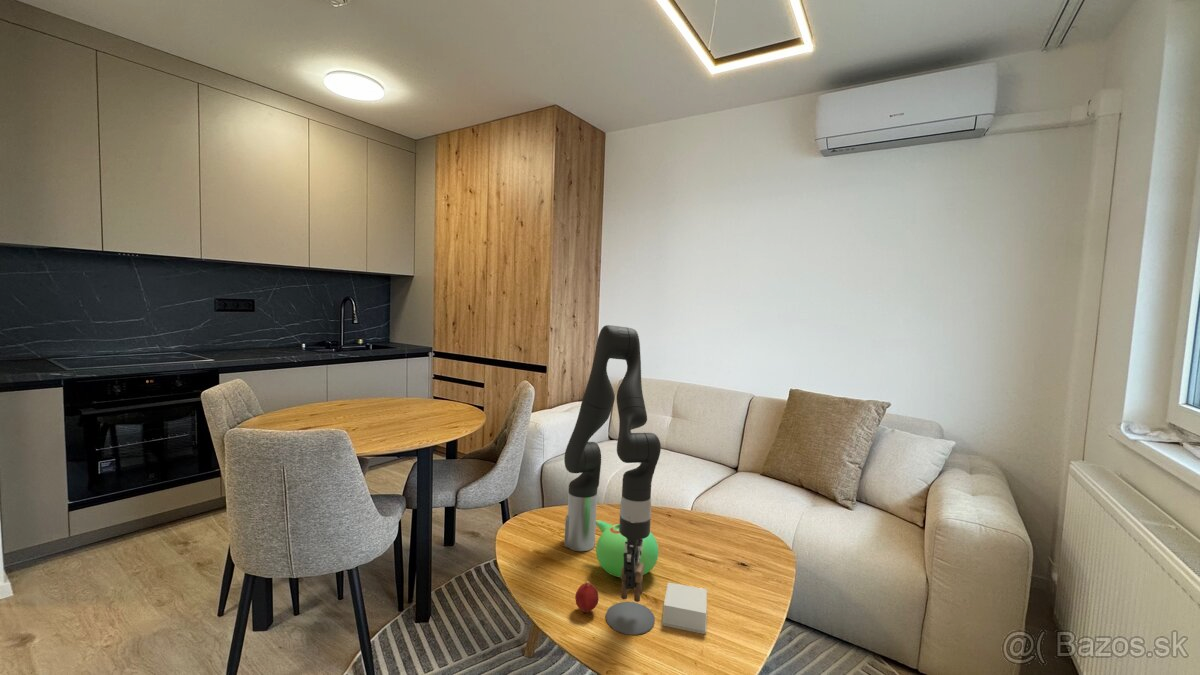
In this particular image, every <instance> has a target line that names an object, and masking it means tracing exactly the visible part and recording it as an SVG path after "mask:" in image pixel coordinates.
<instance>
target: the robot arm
mask: <svg viewBox="0 0 1200 675" xmlns="http://www.w3.org/2000/svg"><path fill="white" fill-rule="evenodd" d="M596 341H597V342H596V346H595V351H594V356H593V362H592V365H591V370H590V374H589V378H588V381H587V384H586V387H585V391H584V392H583V393H584V394H583V397H582V401H581V404H580V408H579V412H578V416H577V419H576V423H575V425H574V428H573V431H572V433H571V435H570V438H569V440H568V443H567V446H566V448H565V452H564V459H563V460H564V467H565V469H566V471H567V472H568V473H571V474H580V475H578V476H577V477H576V478H574V479H573V480H570V482H569V484H568V491H567V492H568V494H567V495H568V496H567V498H568V499H567V515H566V516H565V518H564V519H565V521H564V540H563V541H564V542H563V545H564V547H565V548H568V549H570V550H572V551H574V552H575V551H576V552H588V551H591V550H592V549H594V548H595V545H596V528H597V525H596V523H595V521H596V520H597V507H598V506H597V505H598V504H597V503H598V501H597V500H598V489H599V485H600V479H601V478H600V476H601V468H602V451H601V449H600V448H601V447H600V446H599V444H598V443H597V442H595V441H589V440H590V439H591V438H592V437H593V436H594V435H595V433H597V432H598V431H599V430H600V428H602V427H603V426H604V425H605V423H606V422H608V420H609V418H610V415H611V413H612V410H613V407H614V402H615V398H616V406H617V413H618V419H619V420H618V422H619V423H618V424H619V427H618V438H617V443H616V454H617V456H618V458H619V459H620V461H622V462H623V463H624V464H625V463H626V464H636V463H639V466H637V467H635V468H631V469H629V470H627V471H625V472H624V473H623V475H622V486H621V498H620V499H621V500H620V506H619V507H620V509H619V524H620V525H619V531H620V533H621V535H623V536H624V537H626V538H627V542H625V547H624V549H625V553H624V555H623V556H624V575H626V586H625V587H626V588H627V589H629V590H635V575H636V566H637V564H638V563H639V562H640V560H641V558H640V556H641V554H642V545H643V539H644V538H646V537H648V536H649V534H650V532H651V523H652V522H651V520H652V519H651V518H652V482H653V478H654V474H655V470H656V467H657V464H658V461H659V459H660V455H661V451H662V447H661V441H660V438H659V436H658V435H656V434H655V433H653V432H632V430H636V429H638V428H641V427H643V426H644V425H646V424H647V422H648V414H647V410H646V404H645V399H644V394H643V393H644V392H643V385H642V361H641V341H640V337H639V334H638V331H637V330H636V329H634V328H631V327H627V326H618V325H607V324H606V325H604V326H603V327H601V330H600V331H599V334H598V338H597V340H596ZM610 359H613V360H622V361H625V362H626V367H627V368H626V371H625V374H624V376H623V379H622V380H621V382H620V384H619V387H618V389H617V392H616V397H615V391H614V388H613V385H612V383H611V381H610V378H609V376H608V371H607V368H608V362H609V360H610Z"/></svg>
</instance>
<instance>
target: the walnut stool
mask: <svg viewBox="0 0 1200 675" xmlns="http://www.w3.org/2000/svg"><path fill="white" fill-rule="evenodd" d="M643 574H644V563H641V562H639V563H638V564H637V566H636V575H635V588H634V593H633V596H634V598H633V601H634V602H635V603H638V602H640V601H641V594H643V581H644V580H643V579H644V575H643ZM620 580H621V590H620V591H621V594H620V598H621V599H622V600H626V599H628V592H629V591H630V589H627V588H626V587H625V586H626V575H624V565H623V567H622V570H621V578H620Z"/></svg>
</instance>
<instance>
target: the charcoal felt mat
mask: <svg viewBox="0 0 1200 675" xmlns="http://www.w3.org/2000/svg"><path fill="white" fill-rule="evenodd" d="M605 620H606V623H607V625H608V626H609V627H610V628H611V629H613V630H614V631H615V632H617V633H620V634H623V635H627V636H639V635H643V634H646V633H648V632H650V631H651V630H652V629H653V628H654V626H655V622H656V621H655V620H656V617H655V615H654V613H653V612H652V610H651V609H650V608H649V607H647V606H646V605H643V604H641V603H638V602H636V601H634V602H633V601H621V602H617V603H615V604H613V605H611V606H609V608H608V609H607V610H606V614H605Z"/></svg>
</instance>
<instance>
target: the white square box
mask: <svg viewBox="0 0 1200 675" xmlns="http://www.w3.org/2000/svg"><path fill="white" fill-rule="evenodd" d="M707 599H708V589H706V588H700V587H695V586H691V585H690V586H689V585H685V584H679V583H674V582H669V581H668V582H667V586H666V592H665V597H664V603H663V612H662V613H663V614H662V615H663V616H662V620H661V626H663V627H667V628H668V627H669V628H672V629H677V630H683V631H687V632H693V633H698V634H702V635H707V614H708V605H707Z"/></svg>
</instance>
